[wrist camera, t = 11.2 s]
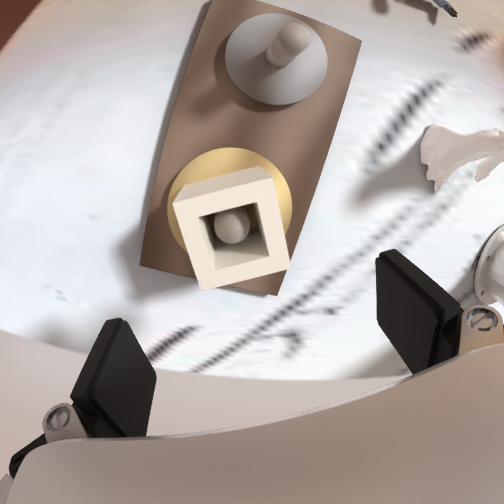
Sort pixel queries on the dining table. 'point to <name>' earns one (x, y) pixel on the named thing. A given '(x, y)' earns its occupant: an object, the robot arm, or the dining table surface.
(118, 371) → the robot arm
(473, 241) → the dining table surface
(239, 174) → the collar
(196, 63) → the workboard
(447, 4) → the toy
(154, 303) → the dining table surface
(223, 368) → the dining table surface
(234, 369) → the dining table surface
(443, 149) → the figurine
